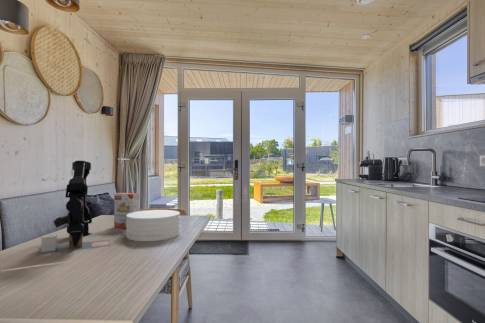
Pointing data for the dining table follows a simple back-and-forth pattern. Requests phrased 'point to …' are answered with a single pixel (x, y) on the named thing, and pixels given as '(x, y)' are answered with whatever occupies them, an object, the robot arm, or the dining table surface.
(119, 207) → the cracker box
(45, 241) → the grey block
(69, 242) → the walnut block
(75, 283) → the dining table surface
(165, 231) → the plate stack
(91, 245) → the board
